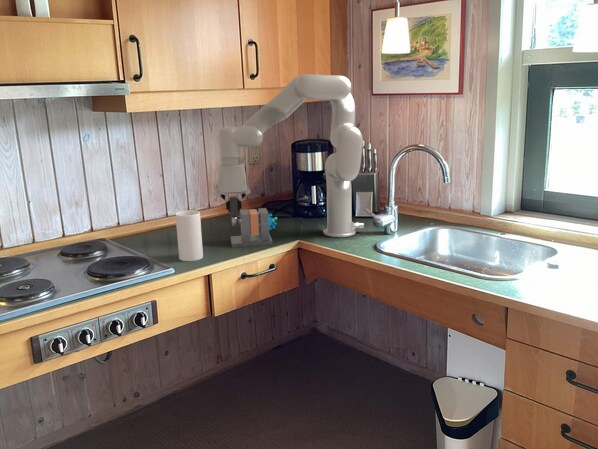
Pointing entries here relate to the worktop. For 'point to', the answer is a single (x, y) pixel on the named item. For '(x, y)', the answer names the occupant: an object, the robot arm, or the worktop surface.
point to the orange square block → (254, 222)
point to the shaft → (236, 211)
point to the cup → (189, 235)
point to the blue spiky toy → (272, 222)
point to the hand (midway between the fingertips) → (234, 210)
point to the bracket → (245, 237)
